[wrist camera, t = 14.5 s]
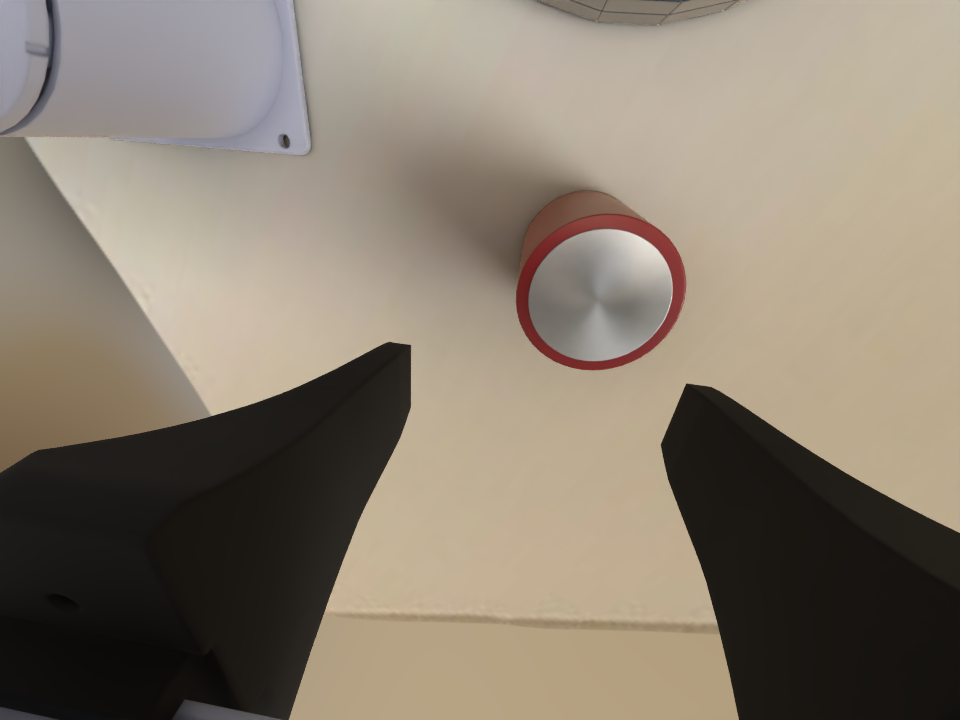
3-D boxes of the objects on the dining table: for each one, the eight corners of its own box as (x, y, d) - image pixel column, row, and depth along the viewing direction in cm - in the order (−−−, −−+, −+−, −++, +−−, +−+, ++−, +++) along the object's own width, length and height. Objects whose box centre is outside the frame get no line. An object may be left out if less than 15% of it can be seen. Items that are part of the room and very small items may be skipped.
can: (515, 301, 19) (507, 361, 14) (530, 185, 17) (526, 205, 11) (624, 313, 19) (658, 380, 13) (656, 196, 16) (713, 223, 11)
